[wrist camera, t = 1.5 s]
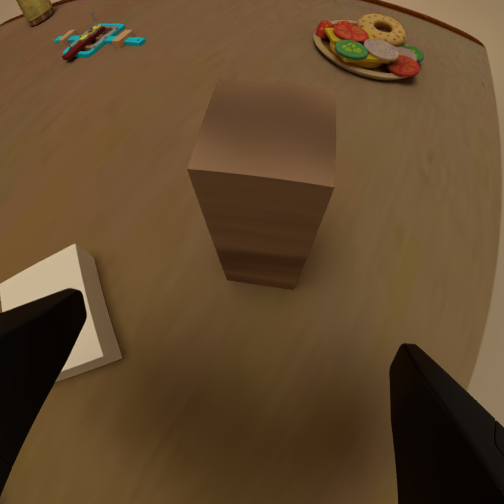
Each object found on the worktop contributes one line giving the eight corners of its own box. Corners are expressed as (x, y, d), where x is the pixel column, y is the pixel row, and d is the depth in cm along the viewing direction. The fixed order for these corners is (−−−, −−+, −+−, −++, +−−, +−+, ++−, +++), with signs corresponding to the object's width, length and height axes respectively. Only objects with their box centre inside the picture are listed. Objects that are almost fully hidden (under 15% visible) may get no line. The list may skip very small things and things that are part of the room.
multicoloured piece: (116, 71, 31) (162, 31, 34) (103, 38, 26) (154, 0, 29) (35, 63, 35) (74, 29, 38) (22, 40, 30) (65, 6, 32)
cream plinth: (122, 358, 20) (103, 356, 17) (41, 386, 19) (18, 386, 16) (94, 257, 23) (75, 243, 20) (21, 293, 22) (-1, 284, 19)
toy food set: (389, 30, 34) (394, 13, 30) (437, 90, 29) (447, 71, 26) (299, 26, 33) (301, 6, 30) (335, 88, 29) (340, 64, 25)
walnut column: (293, 289, 21) (334, 187, 9) (227, 279, 22) (187, 168, 10) (300, 228, 23) (336, 90, 11) (238, 220, 23) (219, 77, 11)
